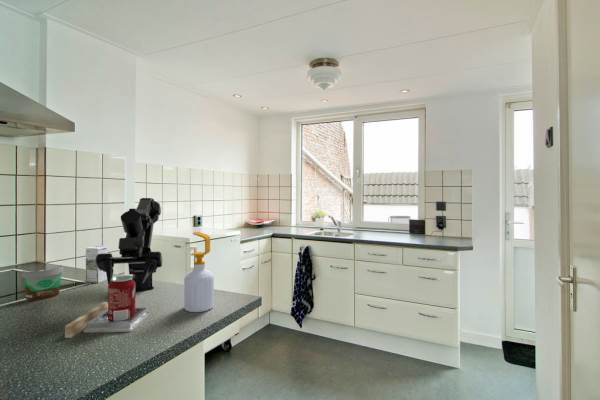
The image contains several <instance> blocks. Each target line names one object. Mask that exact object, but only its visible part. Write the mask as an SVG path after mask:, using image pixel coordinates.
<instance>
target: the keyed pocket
mask: <svg viewBox="0 0 600 400" xmlns="http://www.w3.org/2000/svg"><path fill="white" fill-rule="evenodd" d="M149 315H150V313H149V311H147V307H135V315H134V316H133V317H132V318H131V319H130V320H128V321H108V309H107V310H106V311H104V312H103V313H101V314H100V315H98V316H97V317H95V318H94V319H92V320H91V321H89V322H88V323H87V327H86V328H84V329H83V333H86V334H87V333H126V332H127V333H128V332H132V331H133V330H134V329H135V328H137V326H139V325H140V324H141V323H142V322H143V321H144V320H146V318H147V317H148V316H149Z"/></svg>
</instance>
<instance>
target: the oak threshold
mask: <svg viewBox="0 0 600 400" xmlns="http://www.w3.org/2000/svg"><path fill="white" fill-rule="evenodd" d="M107 309H108V301H105V302H104V301H103V302H102V303H100V304H98V305H96V306H95V307H93V308H92V309H90V310H89V311H87V312H85V313H84V314H82V315H80V316H79V317H77V318H75V319H74V320H73V321H70V322H69V323H67V324H66V325H64V338H65V339H67V338H69V339H71V338H73V337H74V336H76V335H77V334H78V333H80V332H82V331H84V329H85V328H87V323H88V322H89V321H91V320H92V319H94V318H95V317H97V316H98V315H100V314H101V313H103V312H104V311H106V310H107Z"/></svg>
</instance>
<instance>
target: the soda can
mask: <svg viewBox="0 0 600 400" xmlns="http://www.w3.org/2000/svg"><path fill="white" fill-rule="evenodd" d="M107 285H108V284H107ZM107 302H108V321H128V320H130V319H131V318H132V317H133V316H134V315H135V308H136V291H135V282H134V280H133V275H119V276H114V277H112V278H111V282H110V284H109V285H108V286H107Z"/></svg>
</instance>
